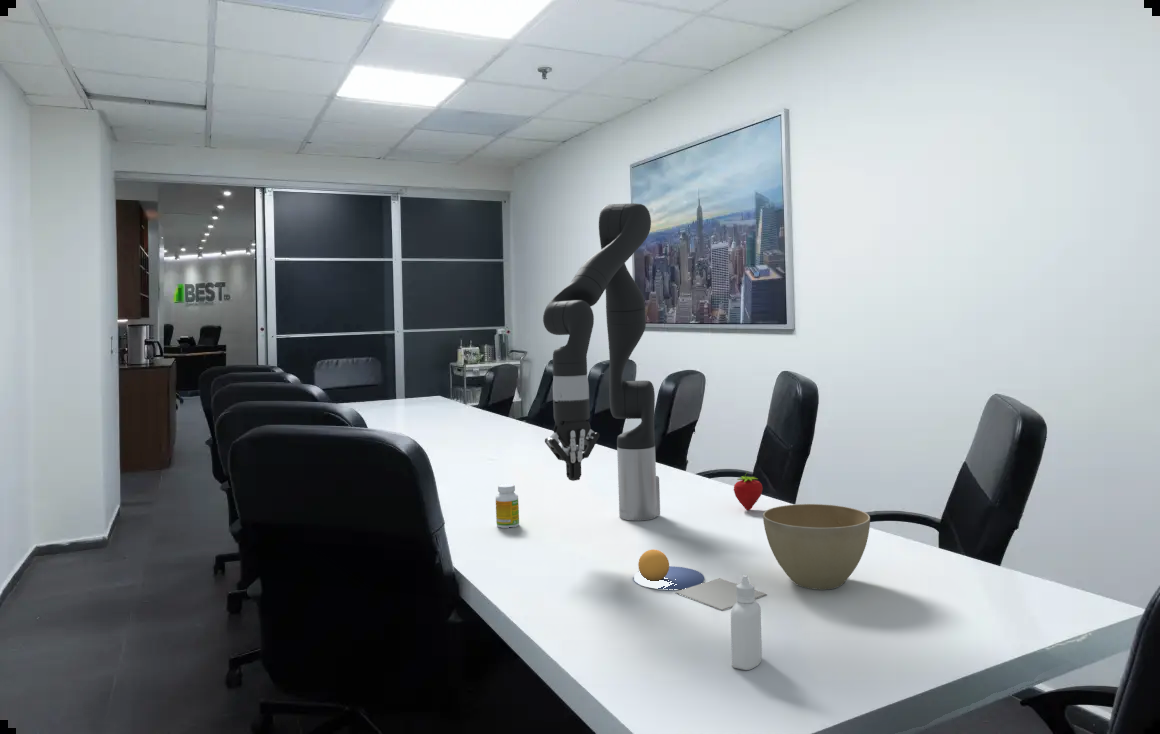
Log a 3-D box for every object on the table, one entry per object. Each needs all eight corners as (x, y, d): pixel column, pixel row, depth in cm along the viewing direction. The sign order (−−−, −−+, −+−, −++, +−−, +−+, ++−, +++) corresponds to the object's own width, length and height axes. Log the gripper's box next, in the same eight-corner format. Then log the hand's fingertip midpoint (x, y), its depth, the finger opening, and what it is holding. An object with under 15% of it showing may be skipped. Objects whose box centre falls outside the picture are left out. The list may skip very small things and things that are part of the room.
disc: (670, 563, 150) (670, 562, 150) (719, 579, 139) (719, 578, 139) (618, 577, 142) (618, 576, 142) (666, 595, 132) (666, 594, 132)
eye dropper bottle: (720, 661, 105) (718, 575, 105) (753, 652, 108) (751, 568, 107) (740, 673, 101) (738, 584, 101) (773, 663, 104) (772, 576, 103)
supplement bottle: (515, 528, 180) (514, 487, 179) (493, 528, 181) (492, 487, 180) (521, 523, 185) (520, 483, 185) (500, 522, 186) (499, 482, 186)
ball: (676, 553, 138) (674, 583, 139) (657, 543, 143) (654, 571, 144) (652, 558, 135) (649, 588, 136) (633, 547, 140) (630, 576, 141)
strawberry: (768, 510, 189) (767, 470, 188) (742, 514, 186) (741, 473, 186) (754, 505, 194) (753, 466, 194) (729, 509, 192) (728, 469, 191)
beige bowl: (869, 570, 141) (868, 505, 141) (872, 604, 124) (871, 530, 124) (769, 563, 147) (767, 501, 147) (759, 595, 130) (757, 524, 130)
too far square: (719, 579, 139) (719, 578, 139) (767, 594, 130) (767, 593, 130) (674, 593, 133) (674, 591, 133) (721, 610, 124) (721, 609, 124)
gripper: (586, 393, 166) (588, 473, 167) (534, 398, 158) (537, 482, 159) (607, 395, 160) (610, 477, 161) (554, 400, 152) (558, 487, 153)
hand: (574, 479), depth 160 cm, fingers closed
